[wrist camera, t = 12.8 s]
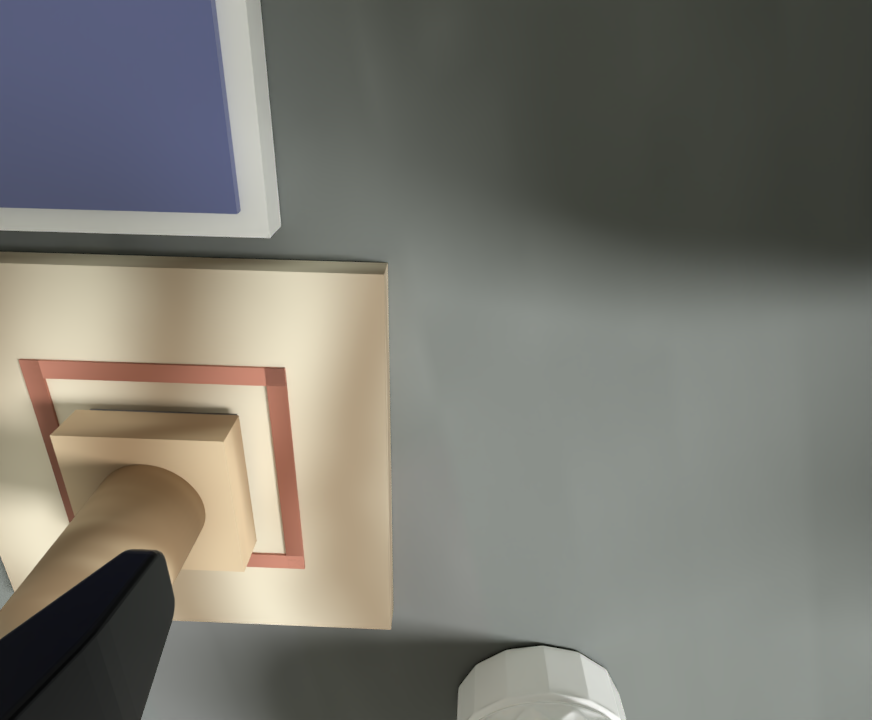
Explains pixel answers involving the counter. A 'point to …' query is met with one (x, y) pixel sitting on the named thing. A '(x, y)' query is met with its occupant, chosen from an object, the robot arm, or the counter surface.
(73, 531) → the stamp
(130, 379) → the board
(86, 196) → the ink pad
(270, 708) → the counter surface
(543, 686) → the white cup
